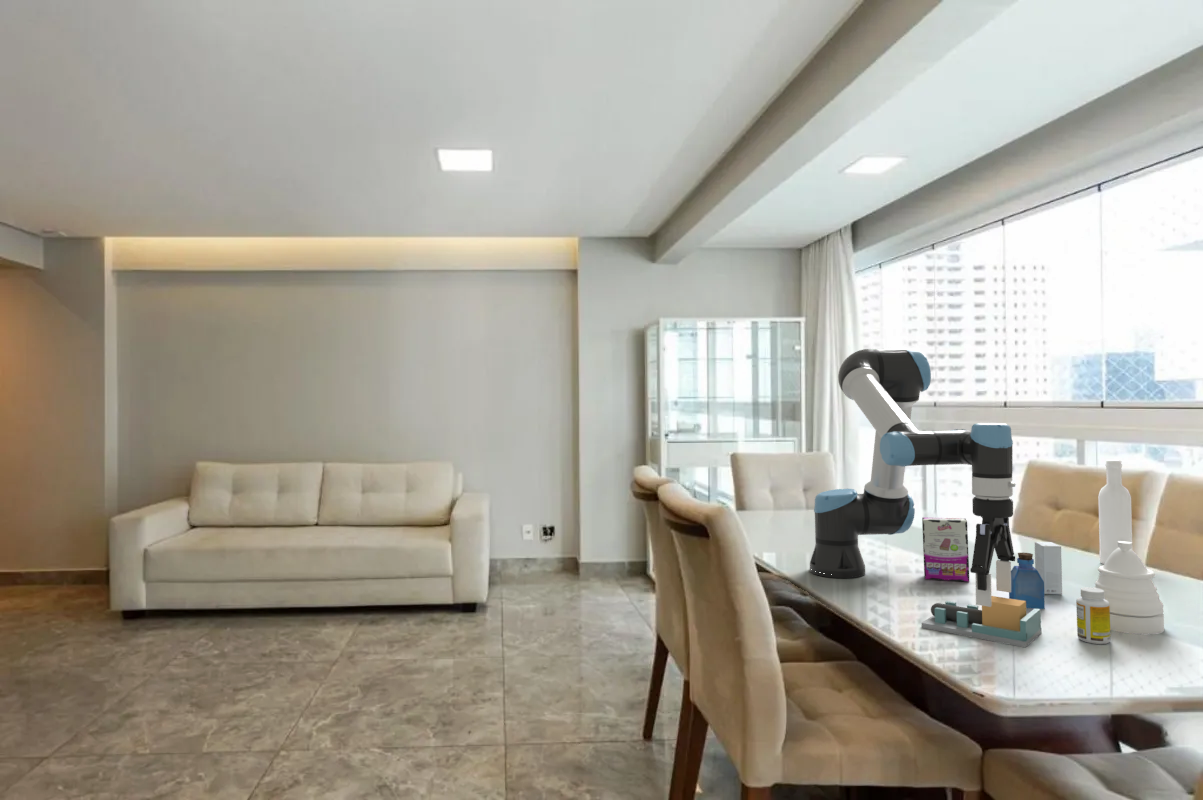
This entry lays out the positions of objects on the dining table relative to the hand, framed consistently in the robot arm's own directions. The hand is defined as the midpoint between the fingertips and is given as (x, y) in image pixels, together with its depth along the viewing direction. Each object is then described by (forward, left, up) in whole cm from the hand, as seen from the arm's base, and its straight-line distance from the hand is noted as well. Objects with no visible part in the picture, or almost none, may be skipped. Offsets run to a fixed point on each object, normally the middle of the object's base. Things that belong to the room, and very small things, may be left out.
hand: (994, 598), depth 154 cm
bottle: (+7, +88, -7) cm, 88 cm away
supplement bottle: (+16, +7, -7) cm, 19 cm away
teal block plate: (-3, 0, -7) cm, 8 cm away
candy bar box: (-24, +41, -7) cm, 48 cm away
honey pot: (+19, +23, -7) cm, 31 cm away
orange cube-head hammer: (-4, 0, -6) cm, 7 cm away
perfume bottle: (-1, +27, -7) cm, 28 cm away
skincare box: (0, +43, -7) cm, 43 cm away
